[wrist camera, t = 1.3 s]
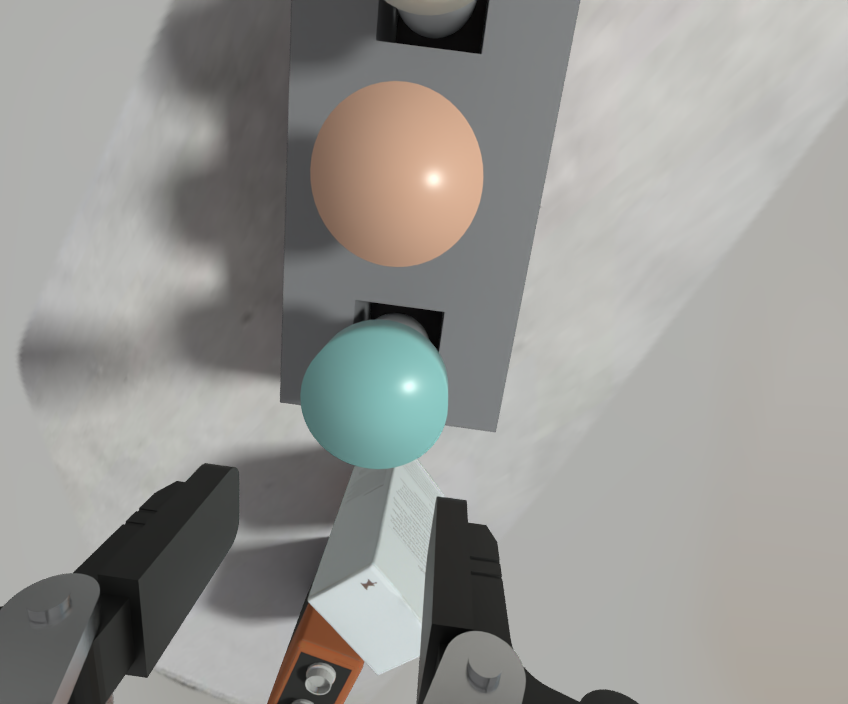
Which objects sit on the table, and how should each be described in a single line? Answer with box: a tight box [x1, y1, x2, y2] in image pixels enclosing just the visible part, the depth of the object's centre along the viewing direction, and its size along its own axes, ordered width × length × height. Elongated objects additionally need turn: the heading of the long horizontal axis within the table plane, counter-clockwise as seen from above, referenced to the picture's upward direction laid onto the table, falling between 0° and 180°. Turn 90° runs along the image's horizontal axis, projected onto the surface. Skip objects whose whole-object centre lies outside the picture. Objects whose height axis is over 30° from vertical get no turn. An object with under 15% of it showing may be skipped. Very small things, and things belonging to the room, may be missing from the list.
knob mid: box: [310, 81, 483, 267], centre depth 18 cm, size 6×6×8 cm
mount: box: [280, 0, 580, 432], centre depth 24 cm, size 24×12×6 cm, turn 173°
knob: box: [300, 313, 448, 469], centre depth 21 cm, size 6×6×8 cm
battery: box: [267, 581, 364, 704], centre depth 32 cm, size 4×7×10 cm, turn 157°
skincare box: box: [308, 459, 445, 675], centre depth 28 cm, size 6×4×12 cm
